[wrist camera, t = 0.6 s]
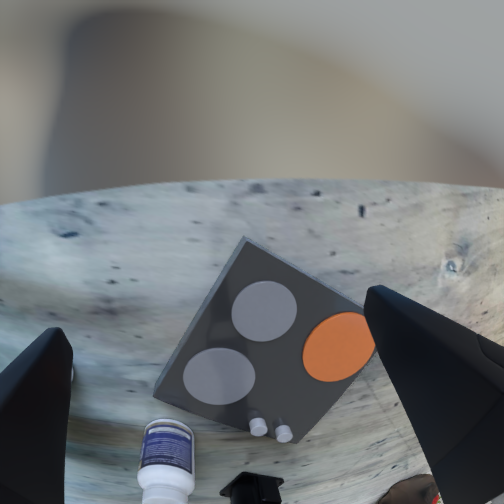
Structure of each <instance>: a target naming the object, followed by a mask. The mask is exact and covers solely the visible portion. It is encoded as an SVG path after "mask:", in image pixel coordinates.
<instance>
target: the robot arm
mask: <svg viewBox="0 0 504 504" xmlns="http://www.w3.org/2000/svg"><path fill="white" fill-rule="evenodd" d="M363 312H364V317H365V319H366V322H367V325H368V327H369V330H370V332H371V335H372V338H373V340H374V343H375V346H376V349H377V351H378V354H379V356H380V359H381V361H382V363H383V365H384V367H385V369H386V371H387V373H388V375H389V377H390V379H391V381H392V383H393V385H394V388H395V390H396V392H397V394H398V396H399V398H400V400H401V402H402V405H403V407H404V409H405V411H406V413H407V416H408V418H409V420H410V422H411V424H412V427H413V429H414V431H415V433H416V436H417V438H418V440H419V443H420V445H421V447H422V450H423V452H424V454H425V457H426V459H427V462H428V464H429V467H430V468H431V472H432V475H433V477H434V480H435V482H436V485H437V487H438V490H439V492H440V495H441V498H442V500H443V503H444V504H485V503H487V502H488V501H491V502H492V503H491V504H504V347H503V346H501V345H499V344H497V343H495V342H493V341H491V340H489V339H487V338H485V337H483V336H481V335H480V334H476V332H474V331H472V330H470V329H468V328H466V327H464V326H462V325H460V324H458V323H456V322H454V321H453V320H451V319H449V318H447V317H445V316H443V315H441V314H439V313H437V312H435V311H433V310H431V309H429V308H427V307H425V306H423V305H421V304H419V303H417V302H415V301H413V300H411V299H409V298H407V297H405V296H403V295H401V294H399V293H397V292H395V291H393V290H391V289H389V288H387V287H385V286H383V285H377V286H372V287H369V288H368V290H367V294H366V299H365V304H364V309H363ZM72 362H73V350H72V347H71V345H70V343H69V341H68V339H67V338H66V336H65V334H64V332H63V330H62V329H61V328H59V327H53V328H48V329H46V330H45V331H44V332H43V333H42V334H41V335H40V336H39V337H38V338H37V339H36V340H35V341H33V342H32V343H31V344H30V345H29V346H28V347H27V348H26V349H25V350H24V351H23V352H22V353H21V354H20V355H19V356H18V357H17V358H16V359H15V360H14V361H12V362H11V363H10V364H9V365H8V366H7V367H6V368H5V369H4V370H3V371H2V372H1V373H0V504H64V473H65V450H66V436H67V425H68V416H69V407H70V398H71V378H72ZM283 483H284V479H282V478H276V477H270V476H264V475H258V474H253V473H248V472H242V473H241V474H239V475H238V476H237V477H236V478H235V479H234V480H233V481H232V482H231V483H229V484H228V485H227V486H226V487H225V488H224V489H223V490H221V491H220V495H221V496H224V497H230V500H231V504H281V502H282V500H281V496H280V493H279V489H278V487H279V486H280V485H282V484H283Z"/></svg>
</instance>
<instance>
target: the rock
mask: <svg viewBox="0 0 504 504" xmlns="http://www.w3.org/2000/svg"><path fill="white" fill-rule="evenodd" d="M438 493H439V490H438V487H437V485H436V482H435V480H434V477H433V476H432V475H430V474H421V475H417V476H415V477H412V478H410V479H407V480H404V481H401V482H399V483H397V484H395V485H393V486H392V487H391V489H390V491H389V492H388V494H387V495H386V496H385V497H384V498H382V499H381V500H380V501H379V502H378V504H432V502H433V499H434V498H435V497H436V496H437V495H438Z"/></svg>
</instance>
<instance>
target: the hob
mask: <svg viewBox="0 0 504 504" xmlns="http://www.w3.org/2000/svg"><path fill="white" fill-rule="evenodd" d="M363 309H364V306H363V305H361V304H359V303H357V302H356V301H354V300H352V299H351V298H349V297H347V296H346V295H344V294H342V293H341V292H339V291H337V290H336V289H334V288H332V287H331V286H329V285H327V284H325V283H324V282H322V281H320V280H319V279H317V278H315V277H314V276H312V275H310V274H309V273H307V272H305V271H303V270H302V269H300V268H298V267H297V266H295V265H293V264H292V263H290V262H288V261H286V260H285V259H283V258H281V257H280V256H278V255H276V254H275V253H273V252H271V251H269V250H268V249H266V248H264V247H263V246H261V245H259V244H257V243H256V242H254V241H252V240H251V239H249V238H247V237H245V236H243V237H242V239H241V240H240V242H239V244H238V245H237V247H236V249H235V250H234V252H233V254H232V255H231V257H230V259H229V260H228V262H227V264H226V265H225V267H224V268H223V270H222V272H221V273H220V275H219V277H218V278H217V280H216V282H215V283H214V285H213V287H212V288H211V290H210V292H209V293H208V295H207V297H206V298H205V300H204V302H203V303H202V305H201V307H200V309H199V310H198V312H197V314H196V315H195V317H194V319H193V320H192V322H191V324H190V325H189V327H188V329H187V330H186V332H185V334H184V335H183V337H182V339H181V341H180V342H179V344H178V346H177V347H176V349H175V351H174V352H173V354H172V356H171V358H170V359H169V361H168V363H167V364H166V366H165V368H164V370H163V371H162V373H161V375H160V376H159V378H158V380H157V382H156V383H155V388H154V393H153V397H154V398H156V399H159V400H161V401H163V402H166V403H168V404H171V405H173V406H176V407H178V408H181V409H183V410H186V411H188V412H191V413H194V414H196V415H199V416H202V417H205V418H208V419H211V420H213V421H216V422H219V423H222V424H225V425H229V426H232V427H235V428H238V429H242V430H245V431H248V432H251V434H252V435H254V436H262V435H263V436H266V437H270V438H274V439H277V441H278V442H280V443H285V442H291V443H295V444H297V443H298V442H299V441H300V440H301V439H302V438H303V437H304V436H305V435H306V434H307V433H308V432H309V431H310V430H311V429H312V428H313V427H314V426H315V424H316V423H317V422H318V421H319V420H320V419H321V418H322V417H323V416H324V415H325V414H326V412H327V411H328V410H329V409H330V408H331V407H332V406H333V405H334V403H335V402H336V401H337V400H338V399H339V398H340V397H341V395H342V394H343V393H344V392H345V391H346V389H347V388H348V387H349V386H350V385H351V383H352V382H353V381H354V380H355V378H356V377H357V376H358V375H359V373H360V372H361V371H362V370H363V368H364V367H365V366H366V365H367V363H368V362H369V361H370V359H371V358H372V357H373V355H374V354H375V353H376V351H377V349H376V346H375V343H374V340H373V338H372V335H371V332H370V330H369V327H368V325H367V322H366V319H365V317H364V312H363Z"/></svg>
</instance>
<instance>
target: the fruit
mask: <svg viewBox="0 0 504 504" xmlns="http://www.w3.org/2000/svg"><path fill="white" fill-rule="evenodd" d="M440 498H441V497H439V495H437V496H436V497H435V498H434V499H433V502H432V504H437V503H440V501H438V499H440Z"/></svg>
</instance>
